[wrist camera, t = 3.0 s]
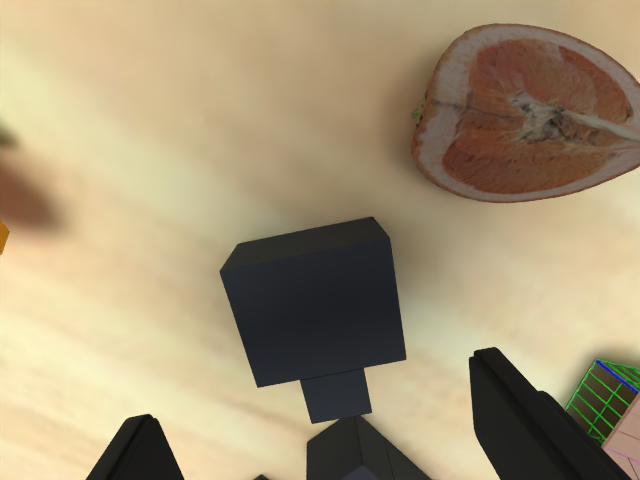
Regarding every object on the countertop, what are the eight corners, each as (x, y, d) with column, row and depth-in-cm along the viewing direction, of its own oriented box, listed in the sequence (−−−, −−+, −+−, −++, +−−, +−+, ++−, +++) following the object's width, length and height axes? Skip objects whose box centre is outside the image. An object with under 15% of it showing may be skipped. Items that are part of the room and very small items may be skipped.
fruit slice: (375, 179, 15) (405, 197, 11) (413, 20, 13) (470, -45, 9) (535, 208, 16) (630, 238, 11) (593, 62, 14) (738, 24, 9)
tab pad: (373, 216, 16) (389, 237, 13) (394, 357, 19) (413, 406, 15) (237, 243, 16) (218, 271, 13) (277, 379, 19) (271, 431, 15)
